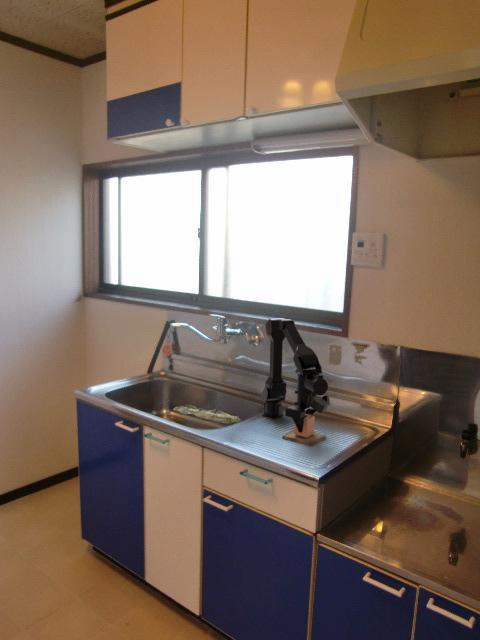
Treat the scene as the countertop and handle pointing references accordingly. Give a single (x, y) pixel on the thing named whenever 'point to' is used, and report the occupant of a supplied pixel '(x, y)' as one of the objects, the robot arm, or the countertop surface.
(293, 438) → the stand
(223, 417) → the stone wall
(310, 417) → the salmon orange block
